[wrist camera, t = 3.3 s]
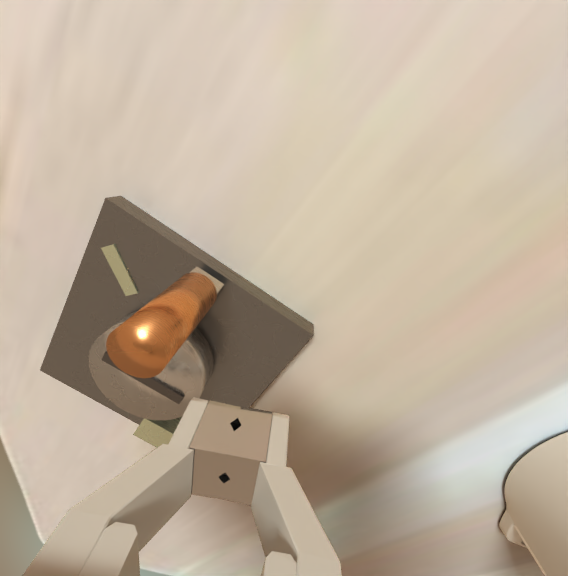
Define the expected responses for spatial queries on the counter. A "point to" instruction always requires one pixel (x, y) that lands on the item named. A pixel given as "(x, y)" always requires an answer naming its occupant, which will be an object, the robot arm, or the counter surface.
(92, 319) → the plate
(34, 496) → the counter surface
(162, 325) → the copper silver knob
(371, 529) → the counter surface
